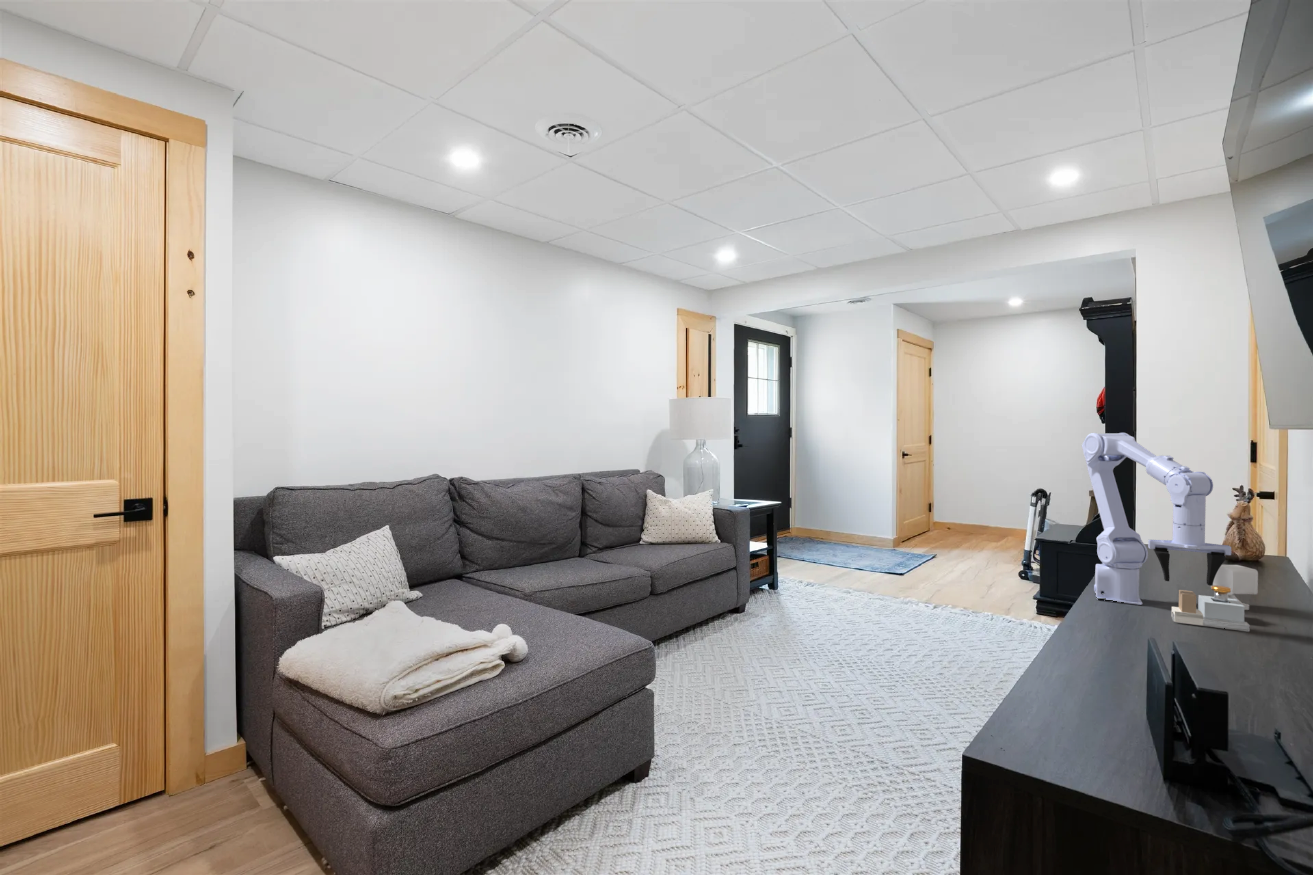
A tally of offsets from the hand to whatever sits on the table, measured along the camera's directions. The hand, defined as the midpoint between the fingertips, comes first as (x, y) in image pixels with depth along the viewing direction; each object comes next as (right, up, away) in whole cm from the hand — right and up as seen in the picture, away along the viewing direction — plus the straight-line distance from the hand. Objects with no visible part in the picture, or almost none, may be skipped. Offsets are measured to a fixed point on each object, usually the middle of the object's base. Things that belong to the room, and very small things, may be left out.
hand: (1187, 582), depth 145 cm
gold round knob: (+11, -6, +4) cm, 14 cm away
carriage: (0, -9, 0) cm, 9 cm away
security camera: (+22, -9, +13) cm, 27 cm away
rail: (+3, -9, -2) cm, 10 cm away
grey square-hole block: (+11, -9, +4) cm, 15 cm away
